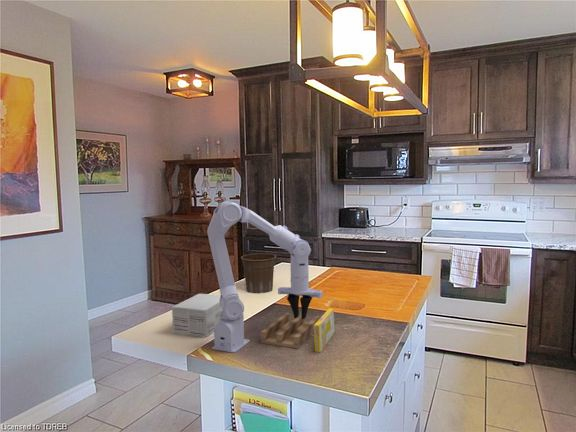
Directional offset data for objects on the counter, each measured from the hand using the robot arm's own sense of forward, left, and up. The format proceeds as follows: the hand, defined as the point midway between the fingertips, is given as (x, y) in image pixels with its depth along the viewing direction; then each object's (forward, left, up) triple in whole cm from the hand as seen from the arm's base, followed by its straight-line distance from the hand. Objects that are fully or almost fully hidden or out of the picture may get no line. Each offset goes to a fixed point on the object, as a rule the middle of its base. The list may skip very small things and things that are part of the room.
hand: (300, 317), depth 129 cm
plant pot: (+45, +38, -6) cm, 59 cm away
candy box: (-2, -9, -6) cm, 11 cm away
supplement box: (-4, +35, -6) cm, 36 cm away
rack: (0, +3, -6) cm, 7 cm away
